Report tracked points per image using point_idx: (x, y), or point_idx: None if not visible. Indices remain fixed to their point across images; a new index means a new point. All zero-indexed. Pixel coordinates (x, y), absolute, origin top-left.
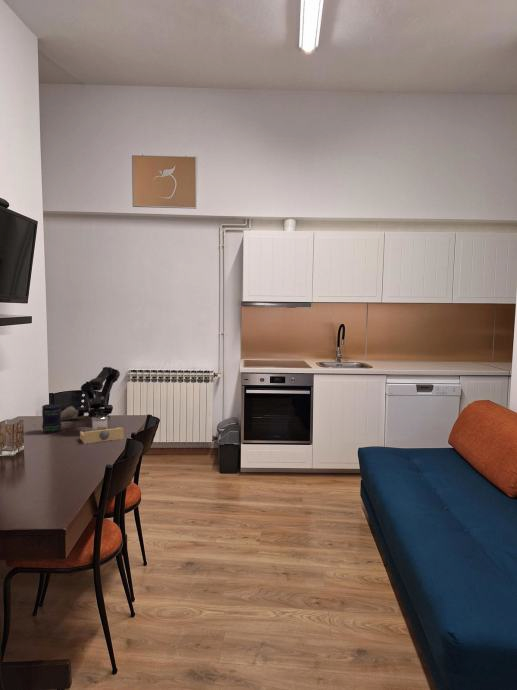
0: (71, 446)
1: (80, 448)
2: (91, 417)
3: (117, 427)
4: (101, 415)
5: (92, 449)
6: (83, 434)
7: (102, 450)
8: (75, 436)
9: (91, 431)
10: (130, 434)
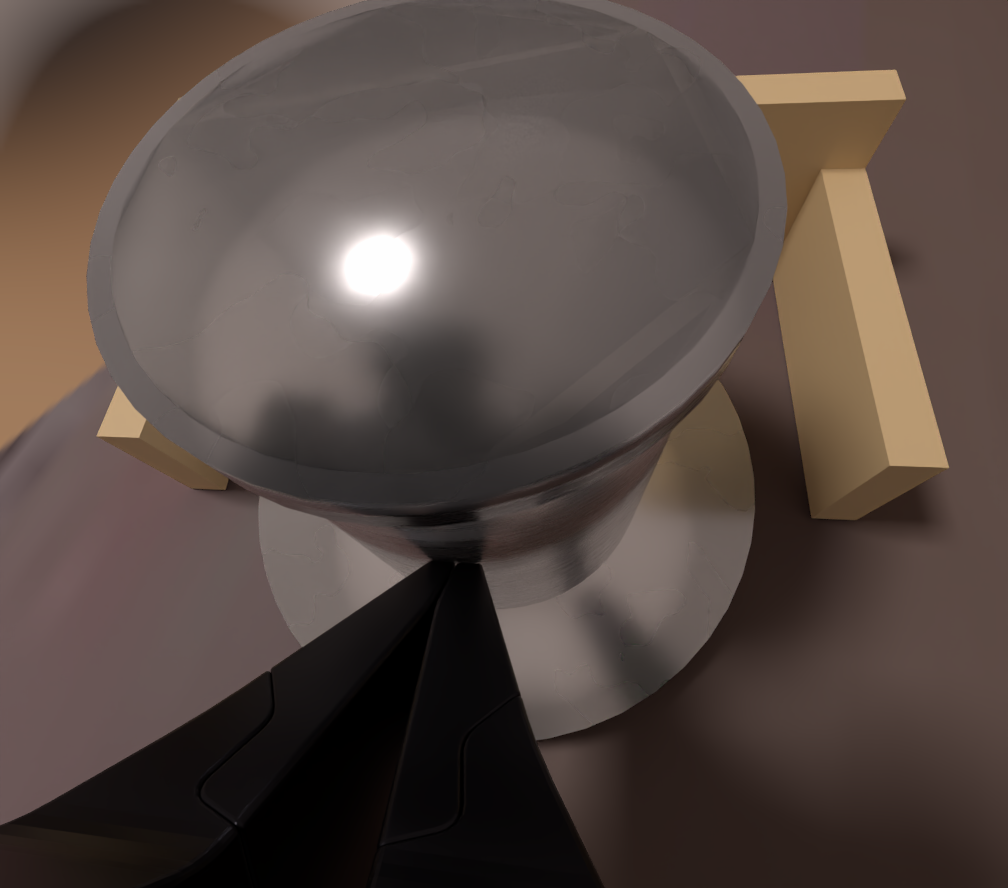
0: (985, 210)
1: None
2: (776, 242)
3: (114, 432)
4: (211, 412)
5: (727, 51)
6: (867, 237)
7: (637, 6)
8: (957, 783)
9: (748, 86)
10: (67, 399)
